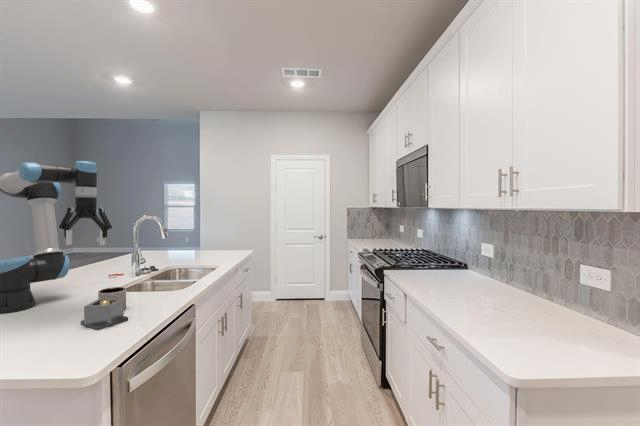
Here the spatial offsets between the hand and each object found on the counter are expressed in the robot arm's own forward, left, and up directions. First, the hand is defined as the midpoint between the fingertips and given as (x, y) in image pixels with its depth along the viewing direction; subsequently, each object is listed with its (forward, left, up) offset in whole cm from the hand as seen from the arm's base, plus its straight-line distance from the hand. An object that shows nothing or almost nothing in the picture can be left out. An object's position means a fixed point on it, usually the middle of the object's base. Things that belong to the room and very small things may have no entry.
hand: (86, 245), depth 137 cm
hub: (+17, -1, -31) cm, 35 cm away
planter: (+4, +9, -31) cm, 33 cm away
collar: (+17, -1, -30) cm, 34 cm away
